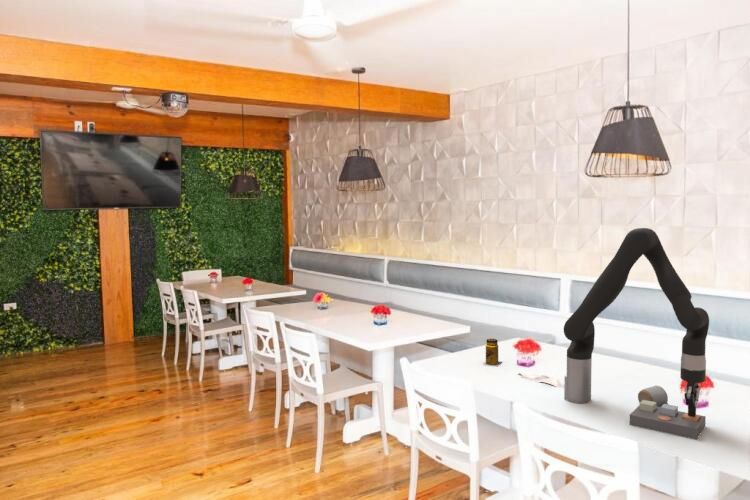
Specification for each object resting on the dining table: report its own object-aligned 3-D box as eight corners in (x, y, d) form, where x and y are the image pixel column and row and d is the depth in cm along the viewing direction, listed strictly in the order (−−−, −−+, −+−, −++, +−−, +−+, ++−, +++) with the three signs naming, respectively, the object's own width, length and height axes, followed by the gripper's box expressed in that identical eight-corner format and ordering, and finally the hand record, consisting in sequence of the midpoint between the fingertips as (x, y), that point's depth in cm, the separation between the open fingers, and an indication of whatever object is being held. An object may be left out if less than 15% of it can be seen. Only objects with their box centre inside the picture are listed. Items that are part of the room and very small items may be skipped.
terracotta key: (682, 425, 200) (682, 416, 200) (685, 421, 204) (685, 412, 204) (697, 428, 198) (697, 419, 197) (699, 424, 201) (700, 415, 201)
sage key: (639, 411, 209) (639, 403, 209) (642, 408, 213) (643, 399, 212) (652, 414, 206) (653, 405, 206) (656, 410, 210) (656, 402, 210)
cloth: (577, 387, 248) (578, 382, 248) (553, 392, 242) (553, 387, 242) (534, 372, 271) (534, 367, 271) (511, 376, 265) (511, 371, 265)
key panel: (629, 424, 205) (629, 413, 204) (640, 413, 215) (641, 402, 215) (696, 439, 191) (697, 427, 191) (705, 426, 202) (705, 415, 202)
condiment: (482, 364, 283) (482, 340, 282) (488, 360, 290) (488, 336, 289) (497, 366, 279) (497, 341, 278) (502, 362, 287) (502, 338, 286)
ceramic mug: (635, 405, 224) (636, 385, 223) (651, 402, 227) (652, 383, 226) (659, 414, 214) (659, 394, 213) (675, 411, 217) (675, 391, 217)
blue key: (660, 416, 205) (660, 407, 204) (663, 412, 208) (663, 403, 208) (674, 419, 202) (674, 409, 202) (677, 415, 205) (677, 406, 205)
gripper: (685, 360, 207) (684, 408, 208) (676, 369, 196) (675, 419, 198) (709, 363, 202) (708, 412, 203) (701, 372, 192) (700, 424, 193)
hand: (691, 416), depth 200 cm, fingers closed
